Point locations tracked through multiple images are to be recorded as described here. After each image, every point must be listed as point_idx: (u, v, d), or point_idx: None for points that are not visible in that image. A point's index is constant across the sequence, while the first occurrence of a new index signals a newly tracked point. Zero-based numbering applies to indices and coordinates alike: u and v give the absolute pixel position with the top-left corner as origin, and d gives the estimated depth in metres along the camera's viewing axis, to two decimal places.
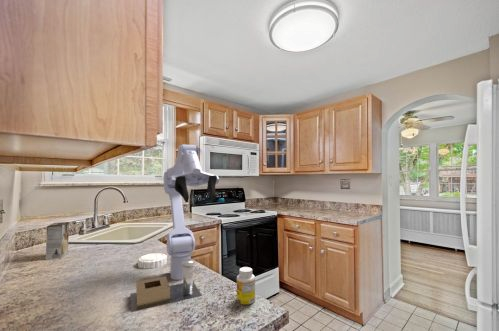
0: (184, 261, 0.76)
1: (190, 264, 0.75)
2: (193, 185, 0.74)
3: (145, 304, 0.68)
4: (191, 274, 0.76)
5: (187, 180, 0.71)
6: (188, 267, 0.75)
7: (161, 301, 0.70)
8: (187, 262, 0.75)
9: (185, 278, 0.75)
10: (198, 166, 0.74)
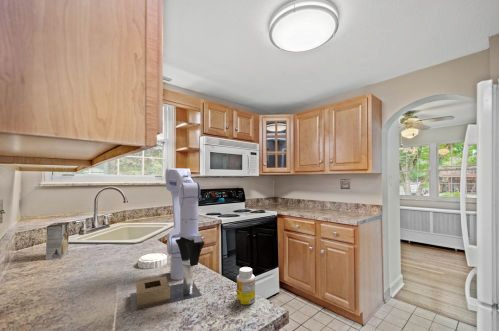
0: (184, 260, 0.77)
1: None
2: None
3: (145, 304, 0.68)
4: (191, 273, 0.76)
5: None
6: (188, 266, 0.76)
7: (161, 301, 0.70)
8: (187, 261, 0.76)
9: (185, 277, 0.75)
10: (182, 226, 0.74)
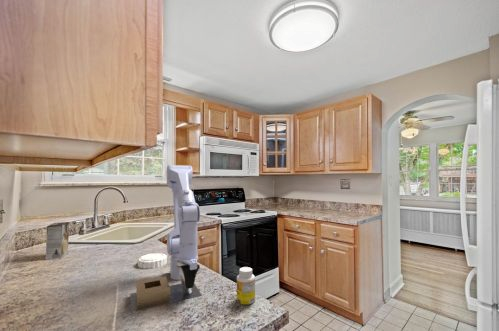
0: (179, 262, 0.76)
1: (185, 264, 0.74)
2: None
3: (145, 304, 0.68)
4: None
5: None
6: None
7: (161, 301, 0.70)
8: (181, 263, 0.75)
9: (182, 278, 0.74)
10: (181, 250, 0.75)
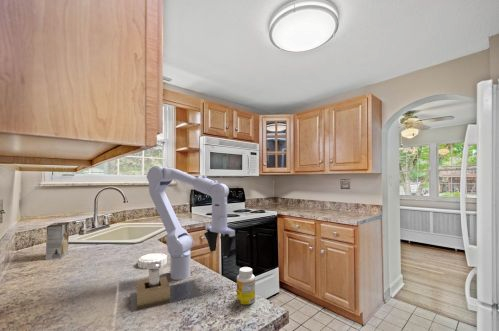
0: (150, 264, 0.74)
1: (155, 267, 0.72)
2: None
3: (145, 304, 0.68)
4: (156, 278, 0.73)
5: None
6: (153, 270, 0.72)
7: (161, 301, 0.70)
8: (152, 265, 0.73)
9: (150, 281, 0.72)
10: (216, 222, 0.85)
